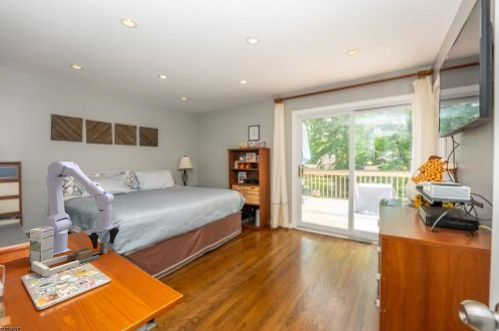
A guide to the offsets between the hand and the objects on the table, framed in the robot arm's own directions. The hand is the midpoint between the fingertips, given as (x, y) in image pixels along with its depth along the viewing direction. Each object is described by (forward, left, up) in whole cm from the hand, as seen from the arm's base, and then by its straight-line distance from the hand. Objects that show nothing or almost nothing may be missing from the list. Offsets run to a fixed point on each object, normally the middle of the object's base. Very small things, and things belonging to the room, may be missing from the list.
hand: (103, 245), depth 109 cm
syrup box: (-13, -19, -4) cm, 23 cm away
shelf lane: (0, -18, -3) cm, 18 cm away
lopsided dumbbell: (0, -5, -3) cm, 6 cm away
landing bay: (0, -9, -3) cm, 10 cm away
